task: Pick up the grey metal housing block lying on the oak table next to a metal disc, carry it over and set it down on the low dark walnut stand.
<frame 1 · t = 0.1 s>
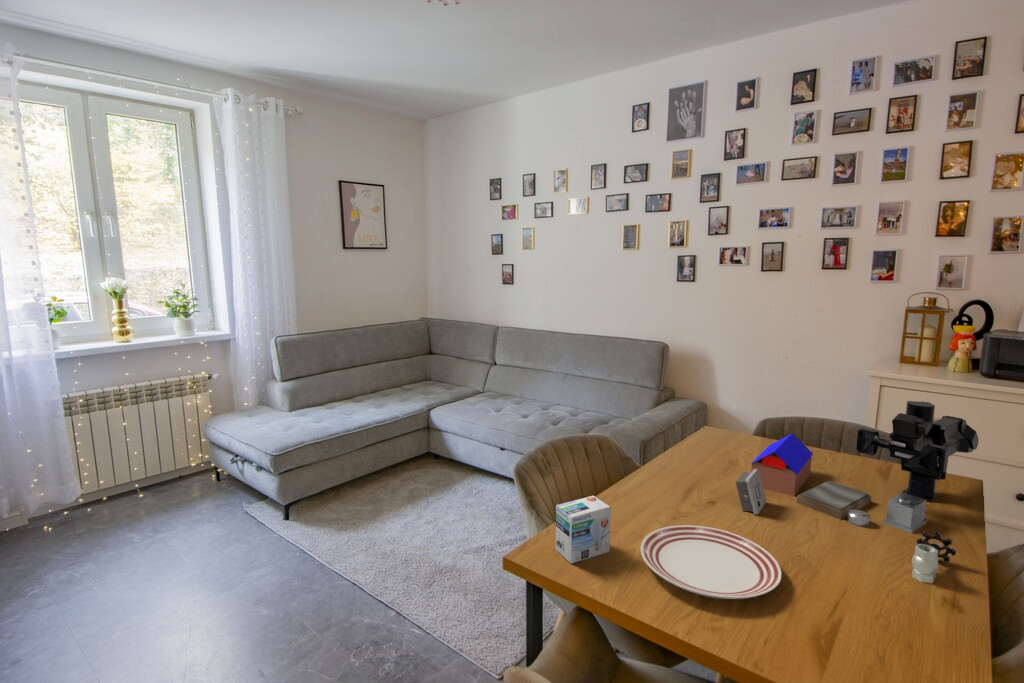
hand: (884, 456, 126), 17 cm above the table, tool horizontal, fingers open, 9 cm apart
electrical switch: (750, 507, 136), on the table
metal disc: (858, 522, 128), on the table
house: (780, 480, 153), on the table
valve: (927, 571, 108), on the table
stand: (833, 502, 138), on the table
white box: (582, 551, 117), on the table
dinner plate: (707, 570, 109), on the table
housing: (904, 523, 127), on the table
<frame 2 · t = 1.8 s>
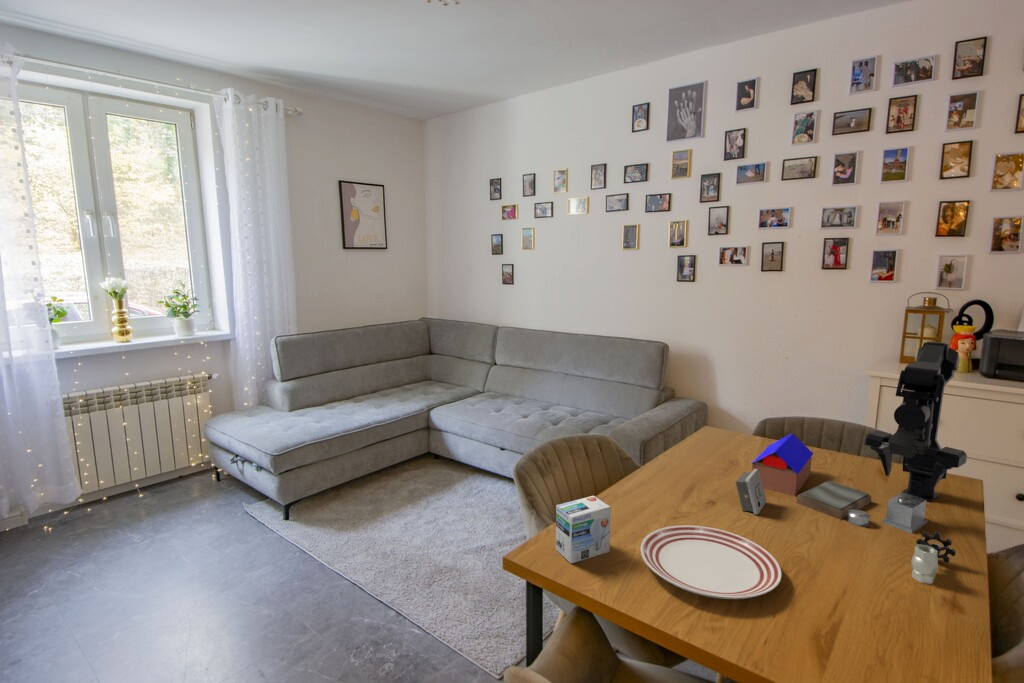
hand: (909, 481, 126), 11 cm above the table, tool pointing down, fingers open, 9 cm apart
nothing on the table moved.
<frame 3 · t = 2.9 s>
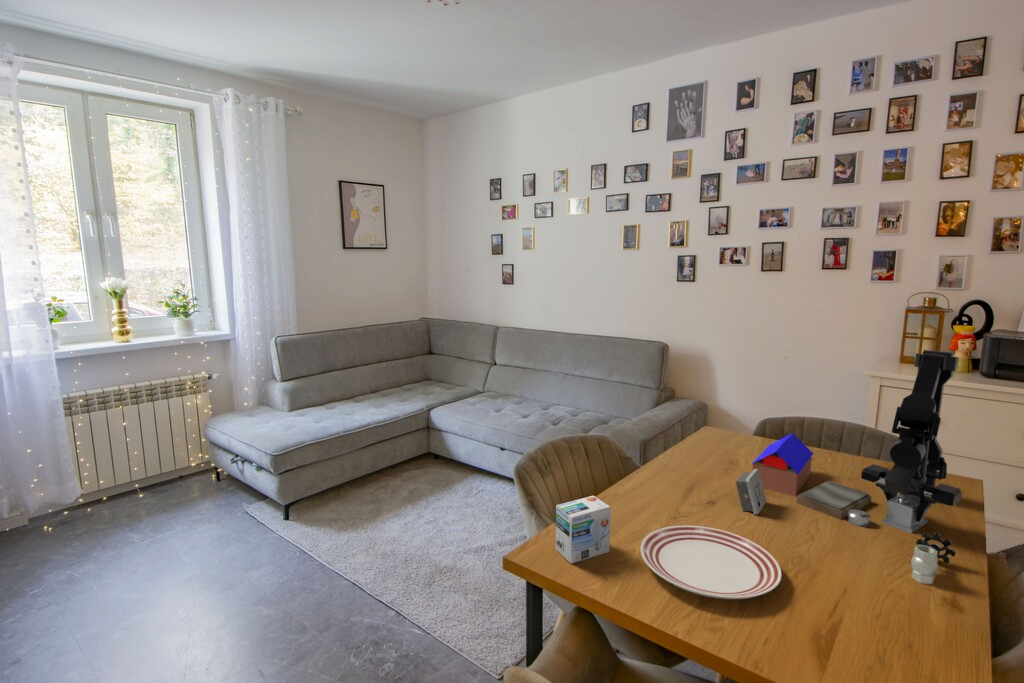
hand: (905, 516, 127), 2 cm above the table, tool pointing down, fingers closed on housing, 5 cm apart
housing: (904, 523, 127), on the table, touching gripper
everything else where it was.
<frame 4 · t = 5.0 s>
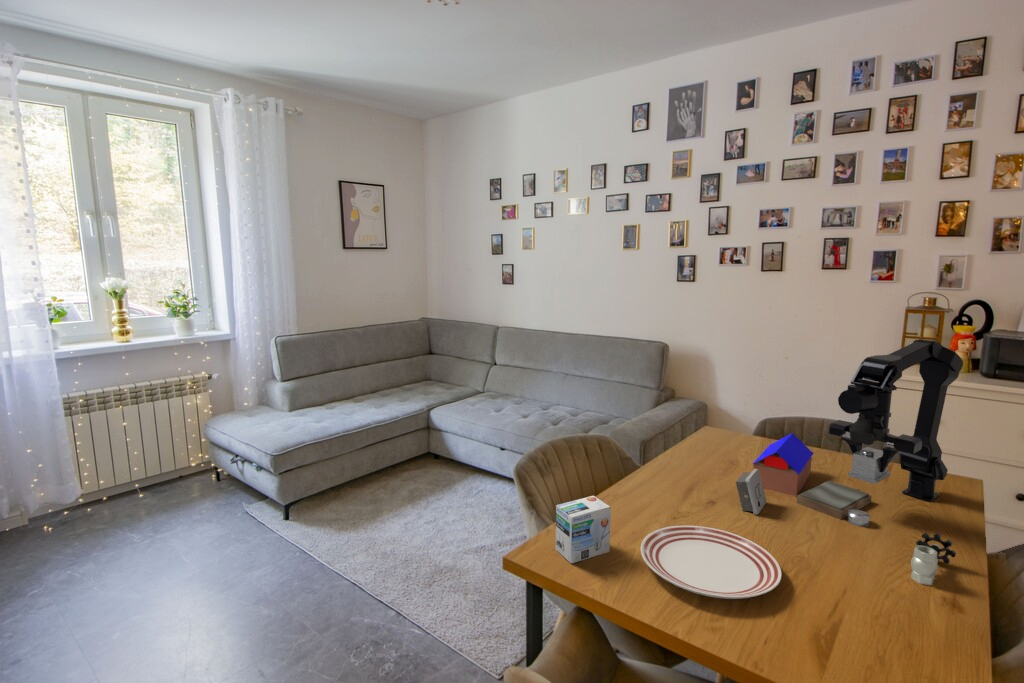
hand: (869, 468, 131), 12 cm above the table, tool pointing down, fingers closed on housing, 5 cm apart
housing: (869, 475, 131), point 10 cm above the table, touching gripper
everything else where it was.
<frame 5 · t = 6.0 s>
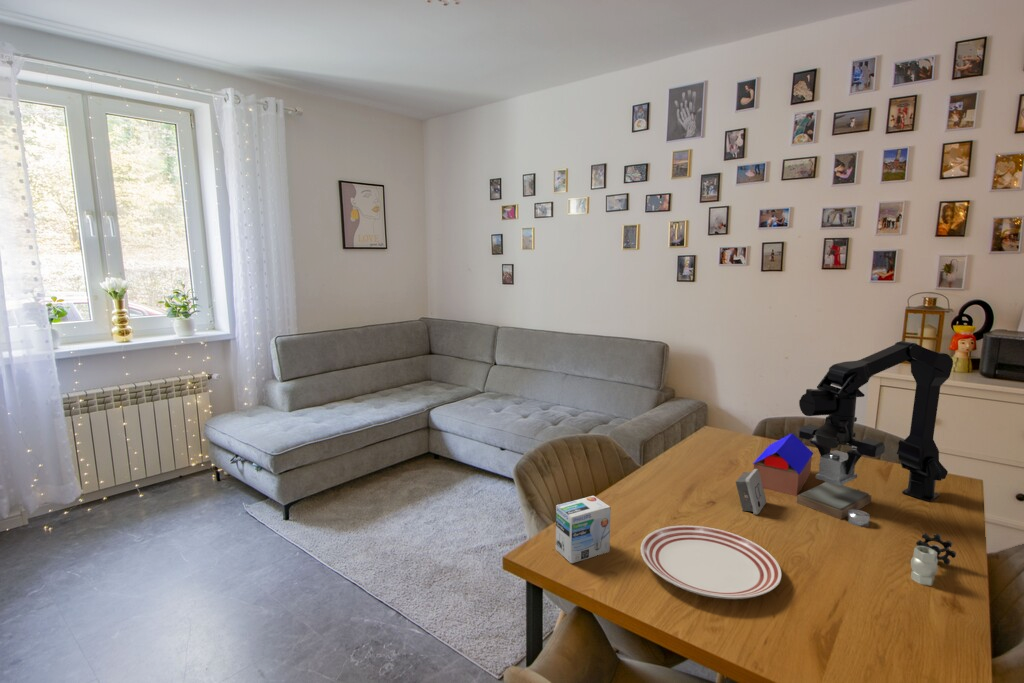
hand: (836, 470, 137), 9 cm above the table, tool pointing down, fingers closed on housing, 5 cm apart
housing: (836, 477, 137), point 7 cm above the table, touching gripper
everything else where it was.
when the fingers open (5 cm above the table, at t = 6.9 s): housing stays where it is, resting on stand.
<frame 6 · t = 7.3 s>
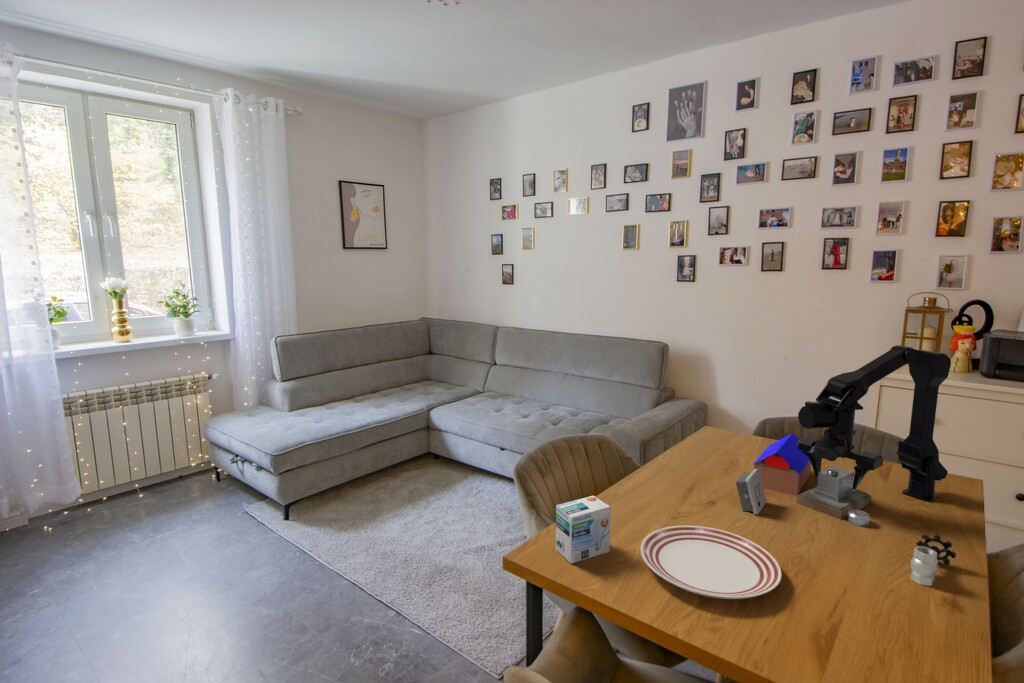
hand: (835, 483, 137), 5 cm above the table, tool pointing down, fingers open, 9 cm apart
housing: (834, 493, 138), point 2 cm above the table, touching stand
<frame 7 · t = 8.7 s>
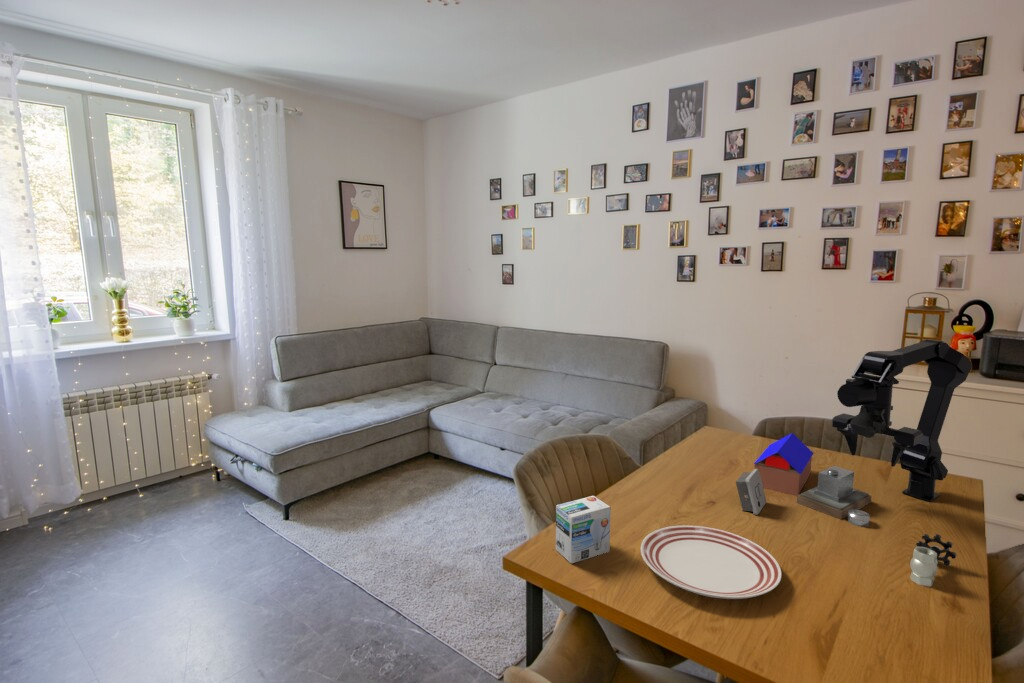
hand: (872, 460, 134), 12 cm above the table, tool pointing down, fingers open, 9 cm apart
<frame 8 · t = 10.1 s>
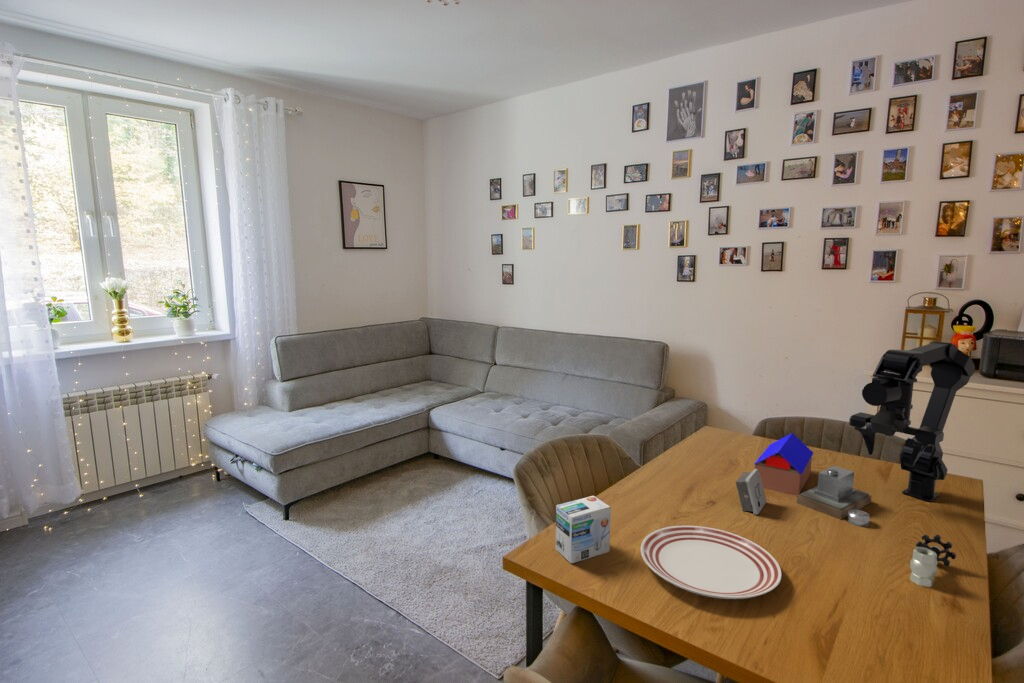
hand: (890, 459, 133), 13 cm above the table, tool pointing down, fingers open, 9 cm apart
at the end: housing inside the target area on the stand (0.0 cm from its centre), point 2.5 cm above the stand's base; housing tilted 0°; the gripper is holding nothing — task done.
